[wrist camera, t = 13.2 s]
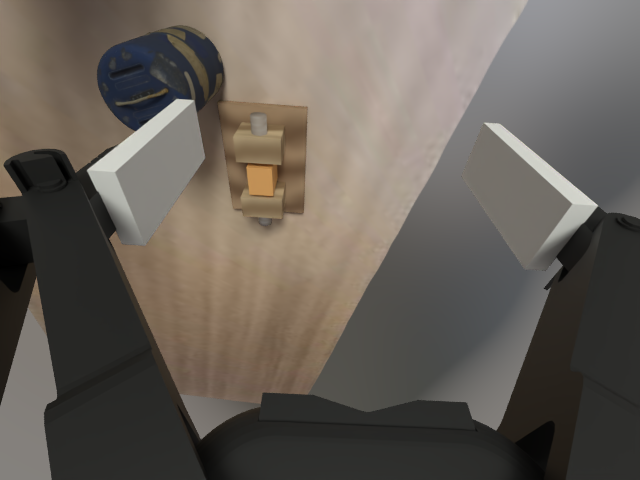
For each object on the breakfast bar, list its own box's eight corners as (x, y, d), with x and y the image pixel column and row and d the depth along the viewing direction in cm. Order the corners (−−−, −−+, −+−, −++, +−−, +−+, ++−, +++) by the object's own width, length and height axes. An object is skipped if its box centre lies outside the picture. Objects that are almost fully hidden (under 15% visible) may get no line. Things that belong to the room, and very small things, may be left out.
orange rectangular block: (253, 151, 52) (246, 167, 48) (276, 152, 52) (271, 169, 48) (255, 177, 56) (249, 194, 51) (277, 178, 56) (273, 195, 51)
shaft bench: (219, 100, 48) (205, 115, 43) (307, 106, 48) (304, 123, 43) (234, 205, 61) (225, 227, 56) (303, 209, 62) (301, 231, 56)
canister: (150, 23, 42) (64, 44, 28) (219, 24, 42) (166, 45, 28) (171, 97, 48) (110, 143, 34) (231, 98, 48) (193, 145, 34)
